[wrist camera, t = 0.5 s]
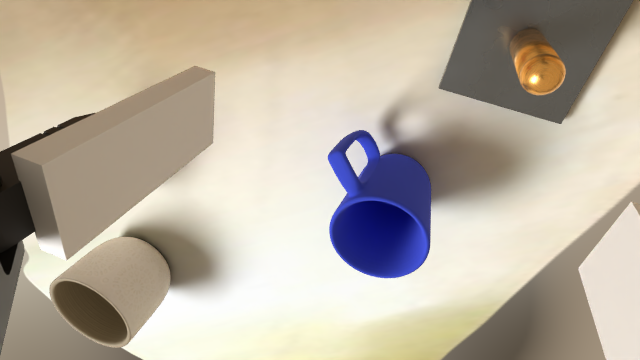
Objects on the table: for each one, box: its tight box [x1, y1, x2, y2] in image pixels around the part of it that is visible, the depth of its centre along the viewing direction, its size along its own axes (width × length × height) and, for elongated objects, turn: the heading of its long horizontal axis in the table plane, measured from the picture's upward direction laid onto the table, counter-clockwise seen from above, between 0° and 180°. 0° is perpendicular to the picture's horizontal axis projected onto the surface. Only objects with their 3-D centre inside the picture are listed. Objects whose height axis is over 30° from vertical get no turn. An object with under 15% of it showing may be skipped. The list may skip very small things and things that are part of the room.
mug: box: [328, 130, 431, 278], centre depth 36 cm, size 8×12×10 cm
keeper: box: [439, 0, 633, 124], centre depth 25 cm, size 16×10×10 cm, turn 168°
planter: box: [50, 237, 171, 347], centre depth 57 cm, size 12×12×11 cm
